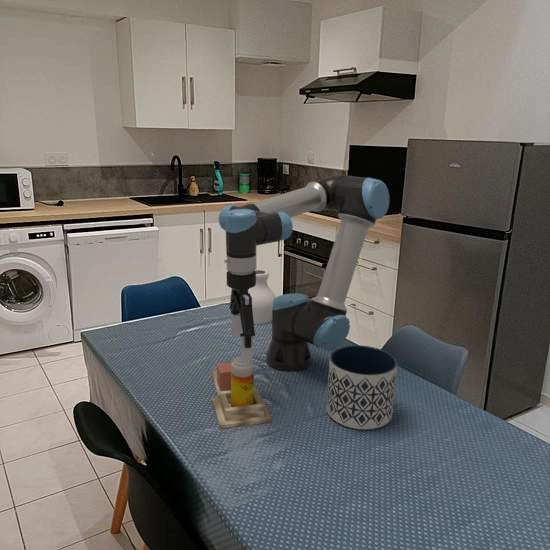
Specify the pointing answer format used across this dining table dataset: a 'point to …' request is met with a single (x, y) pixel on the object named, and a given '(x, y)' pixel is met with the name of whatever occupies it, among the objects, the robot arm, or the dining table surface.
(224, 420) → the dock
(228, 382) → the salmon pink block
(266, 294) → the vase
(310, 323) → the robot arm
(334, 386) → the planter
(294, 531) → the dining table surface
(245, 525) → the dining table surface
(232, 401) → the beer can
